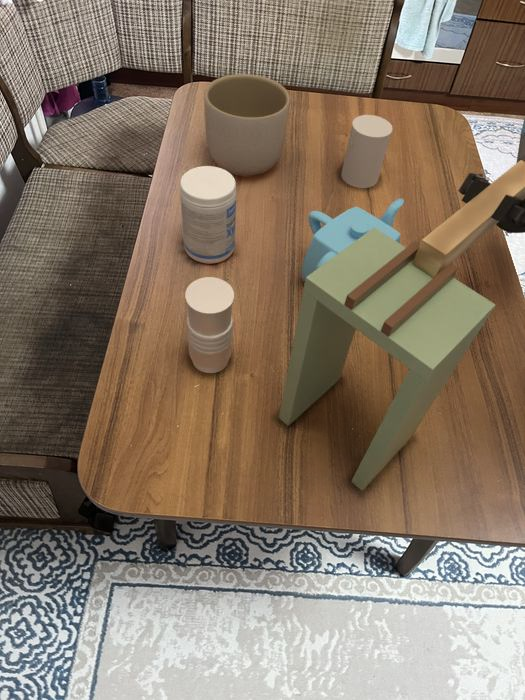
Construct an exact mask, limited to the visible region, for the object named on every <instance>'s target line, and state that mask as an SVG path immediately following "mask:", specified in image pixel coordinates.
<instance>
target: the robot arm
mask: <svg viewBox="0 0 525 700" xmlns="http://www.w3.org/2000/svg"><path fill="white" fill-rule="evenodd" d="M520 131H521V132H520V134H519V143H518V149H517V155H516V156H517V157H516V163H518V161H519V159H520V158H521V157H522V156H523V155H525V117H524V119H523V123H522V127H521V130H520ZM516 163H515V164H516ZM492 183H493V182H489V179H488V178H486V177H485V176H484V175H483V174H482V173H475V172H469V173H468V174H467V176H466V177H465V179H464V181H463V182H462V184H461V186H460V187H459V189H458V192H459V194H460V195H463V197H461V198H462V199H461V201H462V202H463V203H464V204H465V205H466V204H467V203H468V202H469V201H471V200H472V199H473V198H474V197H475V196H477V195H478V194H479V193H480V192H482V191H483V190H484V189H485V188H487V187H488V186H489V185H490V184H492ZM491 218H493V219H495V220H497V221H499V222H498V223H497V224H496V225H495V226H497V227H498V228H499V229H500V230H502V231H504V232H506V233H507V234H523V233H525V199H524V200H521V199H519V198H517V197H513V196H509V195H505V197H504V198H503V200H502V201H501V203H500V204H499V206H498V207H497V209H496V210H495V212H494V213H493V215H492V216H491Z"/></svg>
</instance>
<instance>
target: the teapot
mask: <svg viewBox="0 0 525 700" xmlns="http://www.w3.org/2000/svg"><path fill="white" fill-rule="evenodd" d="M404 203H405V200H404V199H403V198H397V199H396V200H394V201H393V202H392V203H391V204H390V205H389V206H388V207H387V209H386V210H385V211H384V212H383V214H382V215H381V217H380V218H378V217H376V216H374V214H371V213H369V212H368V211H366V210H364V209H362V208H361V207H359V206H354V207H353V206H352V207H351V208H349V209H347V210H345V211H344V212H342V213H340V214H339V215H337V216H335V217H334V218H332V217H330V215H328V214H326V213H324V212H322V211H320V210H312V211H311V212H310V213H309V214H308V224H309V227H310V230H311V233H312V234H313V236H312V238H311V241H310V243H309V245H308V248H307V251H306V253H305V255H304V259H303V263H302V265H301V278H302V280H303V281H304V282H305V279H306V277H307V276H308V275H310V274H311V273H312V272H314V271H315V270H317V269H318V268H319V267H321V266H322V265H323V264H325V263H326V262H327V261H329V260H330V259H332V258H333V257H334V256H336V255H337V254H338V253H340V252H341V251H342V250H344V249H345V248H347V247H348V246H349V245H351V244H352V243H353V242H355V241H356V240H357V239H359V238H360V237H362V236H363V235H364V234H366V233H367V232H368V231H370V230H371V229H372V228H374V227H375V228H376V229H378V230H379V231H381V232H382V233H384V234H386V235H387V236H389V237H390V238H392V239H393V240H395V241H397V242H398V243H400V242H401V233H400V232H399V231H398V230H396V229H395V228H393V226H394V221H395V218H396V216H397V214H398V211H400V209H401V207H402V206H403V205H404ZM321 224H323V226H322V225H321ZM400 244H401V243H400Z"/></svg>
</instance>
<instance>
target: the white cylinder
mask: <svg viewBox="0 0 525 700" xmlns="http://www.w3.org/2000/svg"><path fill="white" fill-rule="evenodd" d="M392 133H393V125H392V124H391V122H390V121H389V120H387V119H385V118H384V117H381V116H378V115H373V114H362V115H359V116H356V117H355V118H354V119H353V120H352V123H351V128H350V132H349V138H348V142H347V146H346V151H345V155H344V159H343V164H342V165H343V166H342V169H341V173H340V176H341V179H342V180H343V181H344V182H345V184H347V185H349V186H351V187H354V188H357V189H369V188H372V187H374V186H375V185H377V183H378V181H379V178H380V174H381V171H382V169H383V168H382V167H383V164H384V161H385V157H386V153H387V150H388V147H389V143H390V140H391V137H392Z"/></svg>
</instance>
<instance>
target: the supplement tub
mask: <svg viewBox="0 0 525 700" xmlns="http://www.w3.org/2000/svg"><path fill="white" fill-rule="evenodd" d="M179 183H180V186H179V194H180V195H179V196H180V197H179V198H180V210H181V224H182V236H183V237H182V238H183V239H182V240H183V248H184V251H185V252H186V254H187V255H188V256H189V257H190V258H191V259H192V260H194V261H196V262H199V263H203V264H217V263H221V262H223V261H225V260H227V259H228V258H230V257H231V256H232V254H233V253H234V251H235V246H236V219H237V218H236V217H237V214H236V213H237V187H236V185H237V183H236V179H235V177H234V175H233V174H231V173H229V172H228V171H226V170H224V169H222V168H221V167H219V166H214V165H213V166H212V165H202V166H196V167H193V168H190V169H189V170H187V171H185V173H183V175H182V176H181V178H180V182H179Z"/></svg>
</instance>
